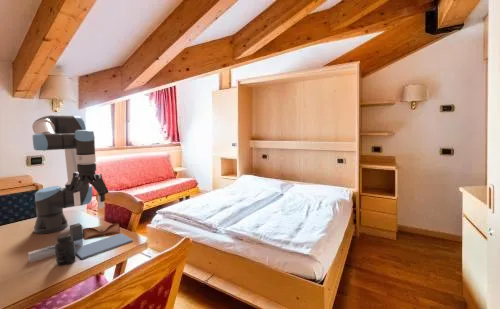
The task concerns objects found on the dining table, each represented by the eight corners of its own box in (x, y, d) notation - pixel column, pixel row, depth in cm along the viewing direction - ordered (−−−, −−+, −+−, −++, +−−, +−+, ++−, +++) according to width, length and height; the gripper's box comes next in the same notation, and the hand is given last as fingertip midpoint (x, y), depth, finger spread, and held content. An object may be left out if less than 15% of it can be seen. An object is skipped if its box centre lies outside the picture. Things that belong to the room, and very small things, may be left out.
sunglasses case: (82, 240, 132) (81, 227, 134) (83, 242, 137) (82, 229, 139) (121, 232, 141) (120, 220, 143) (120, 234, 147) (119, 223, 149)
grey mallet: (28, 260, 112) (26, 236, 111) (80, 244, 128) (79, 223, 126) (30, 263, 110) (28, 239, 109) (83, 246, 126) (81, 225, 124)
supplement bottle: (62, 257, 115) (60, 232, 113) (78, 257, 115) (77, 232, 114) (52, 266, 108) (50, 239, 106) (69, 265, 109) (67, 239, 107)
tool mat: (72, 250, 121) (72, 249, 121) (121, 234, 139) (121, 233, 139) (81, 259, 114) (81, 257, 114) (132, 241, 131) (132, 239, 131)
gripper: (57, 162, 119) (60, 206, 122) (103, 166, 114) (105, 211, 117) (71, 160, 126) (74, 201, 129) (115, 163, 121) (117, 206, 124)
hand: (89, 206), depth 123 cm, fingers open, 13 cm apart
